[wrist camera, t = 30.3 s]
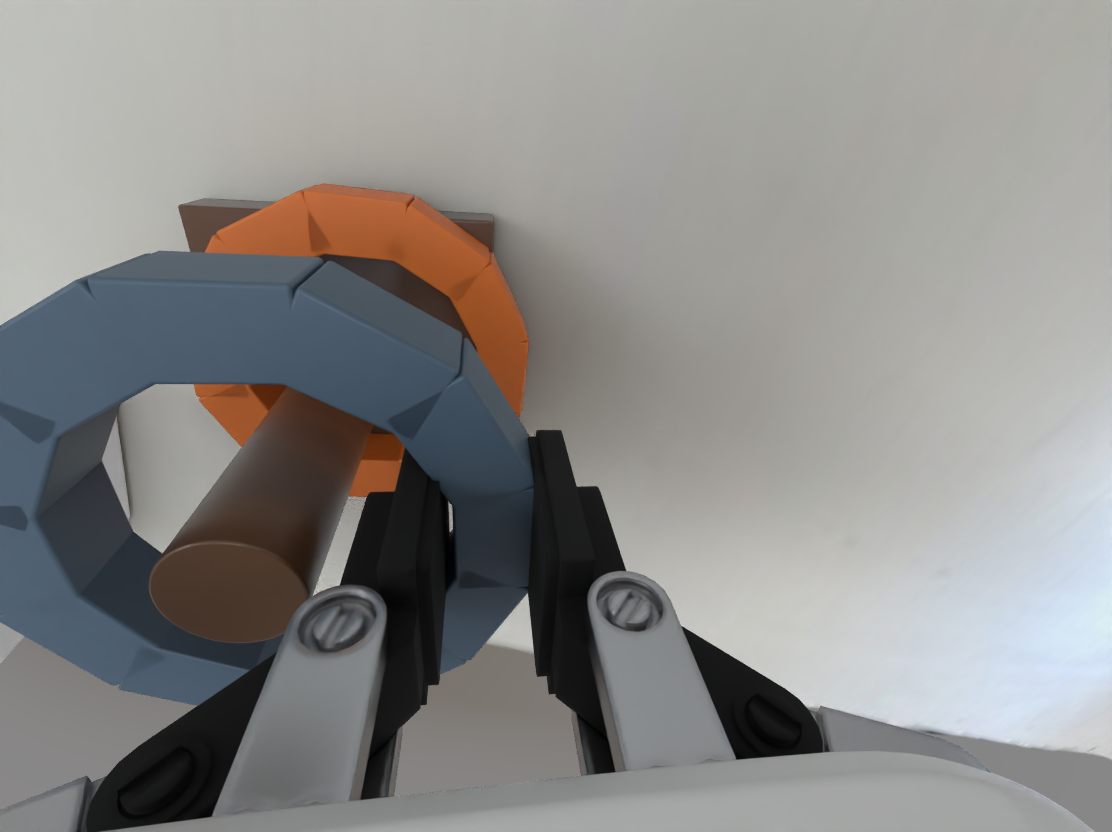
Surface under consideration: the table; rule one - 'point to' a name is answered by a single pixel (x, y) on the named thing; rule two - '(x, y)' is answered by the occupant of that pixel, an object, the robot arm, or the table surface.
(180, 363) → the slate ring
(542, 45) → the table surface
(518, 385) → the orange ring
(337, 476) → the stand
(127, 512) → the medicine bottle
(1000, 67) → the table surface
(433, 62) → the table surface
